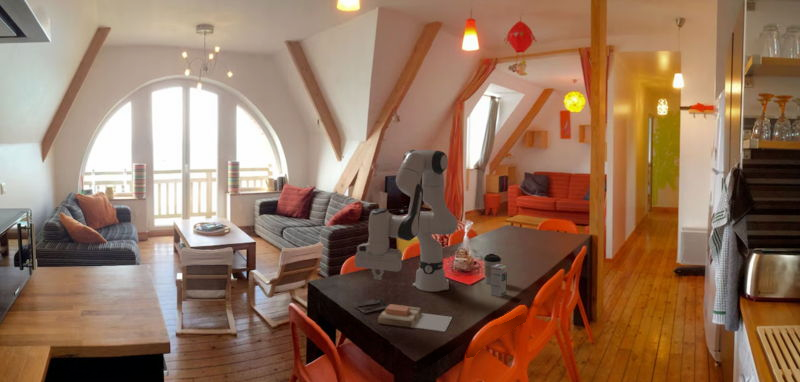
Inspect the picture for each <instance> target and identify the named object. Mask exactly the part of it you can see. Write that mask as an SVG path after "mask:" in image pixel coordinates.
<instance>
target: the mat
mask: <svg viewBox="0 0 800 382" xmlns="http://www.w3.org/2000/svg"><path fill="white" fill-rule="evenodd" d="M452 319H453V316H446V315H439V314H432V313H423V312H421V313H420V314H419V316H418V317H417V319H416V320H415V322H414V323H413V324H412V326H411V327H410V328H412V329H421V330H427V331H434V332H442V333H446V332H447V329H448V327H449V325H450V323H451V321H452Z"/></svg>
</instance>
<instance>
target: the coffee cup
mask: <svg viewBox="0 0 800 382" xmlns="http://www.w3.org/2000/svg"><path fill="white" fill-rule="evenodd" d="M483 261H484V264H483V269H484V270H483V271H484V272H483V273H484V283H485V284H486V285H490V286H491V267H492V266H494V265H497V264H500V265H501V262H502V258H501V257H500V256H499V255H497V254H495V253H488V254H487V255H485V256H484V258H483Z"/></svg>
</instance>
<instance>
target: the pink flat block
mask: <svg viewBox="0 0 800 382" xmlns="http://www.w3.org/2000/svg"><path fill="white" fill-rule="evenodd" d="M388 304H389V303H388ZM388 304H387V305H386V306H387V307H386V308H385V309H384V310H385V313H387V314H395V315H402V316H406V315H407V314H408V313H409V311H410V307H411V306H408V305H401V304H400V305H399V304H392V303H390V304H389V305H388Z"/></svg>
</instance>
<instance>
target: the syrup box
mask: <svg viewBox="0 0 800 382" xmlns="http://www.w3.org/2000/svg"><path fill="white" fill-rule="evenodd" d="M507 277H508V266H507V265H505V264H501V263H500V264H497V265H494V266H492V267H491V285H490V295H491V296H495V297H497V298H498V297H499V298H501V297H503V296H506V295H507V286H508V285H507V284H508V283H507V280H508V279H507Z"/></svg>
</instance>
